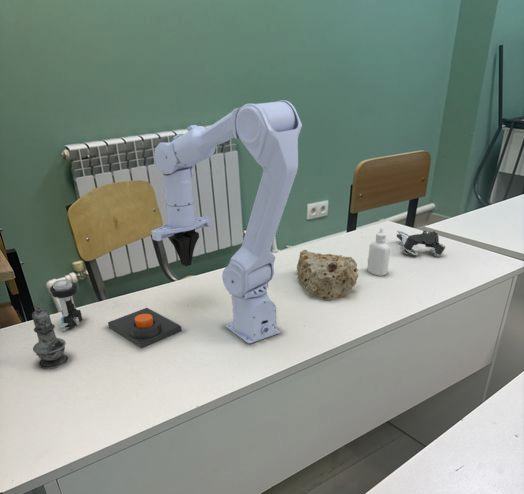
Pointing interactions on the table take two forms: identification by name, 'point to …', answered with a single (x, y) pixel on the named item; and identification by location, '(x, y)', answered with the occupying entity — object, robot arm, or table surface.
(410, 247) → the bicycle component
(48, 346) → the grey tiered figurine
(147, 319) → the round orange button cap
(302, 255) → the rock
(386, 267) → the eye dropper bottle
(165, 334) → the orange button switch
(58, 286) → the white black upright piece
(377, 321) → the table surface
